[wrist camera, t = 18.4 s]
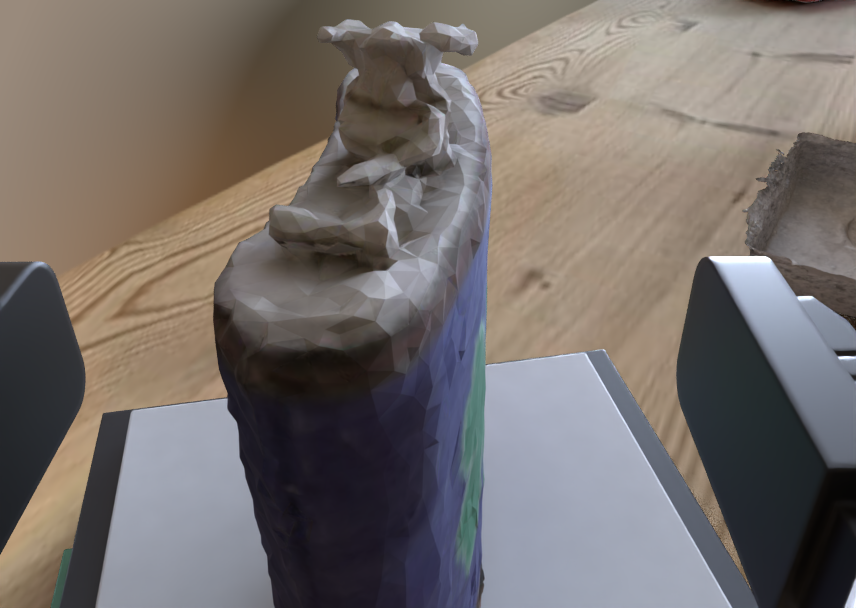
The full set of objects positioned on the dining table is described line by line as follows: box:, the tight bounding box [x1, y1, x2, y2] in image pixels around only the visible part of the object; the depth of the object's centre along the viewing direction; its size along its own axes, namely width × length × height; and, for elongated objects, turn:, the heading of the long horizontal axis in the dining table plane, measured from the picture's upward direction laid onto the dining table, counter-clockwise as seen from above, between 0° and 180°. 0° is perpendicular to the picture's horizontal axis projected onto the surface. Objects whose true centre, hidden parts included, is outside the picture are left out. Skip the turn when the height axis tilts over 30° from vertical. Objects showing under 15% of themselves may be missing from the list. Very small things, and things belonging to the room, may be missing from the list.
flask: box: [213, 19, 492, 608], centre depth 13 cm, size 9×3×11 cm, turn 174°
